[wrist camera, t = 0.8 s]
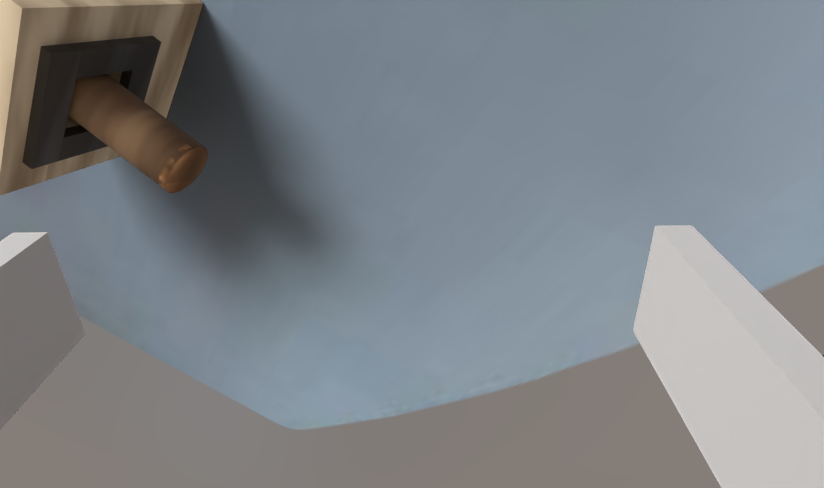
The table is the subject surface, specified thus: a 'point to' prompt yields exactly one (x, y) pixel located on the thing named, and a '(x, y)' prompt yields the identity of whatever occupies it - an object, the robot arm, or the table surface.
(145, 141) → the dowel
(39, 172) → the oak block
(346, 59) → the table surface
